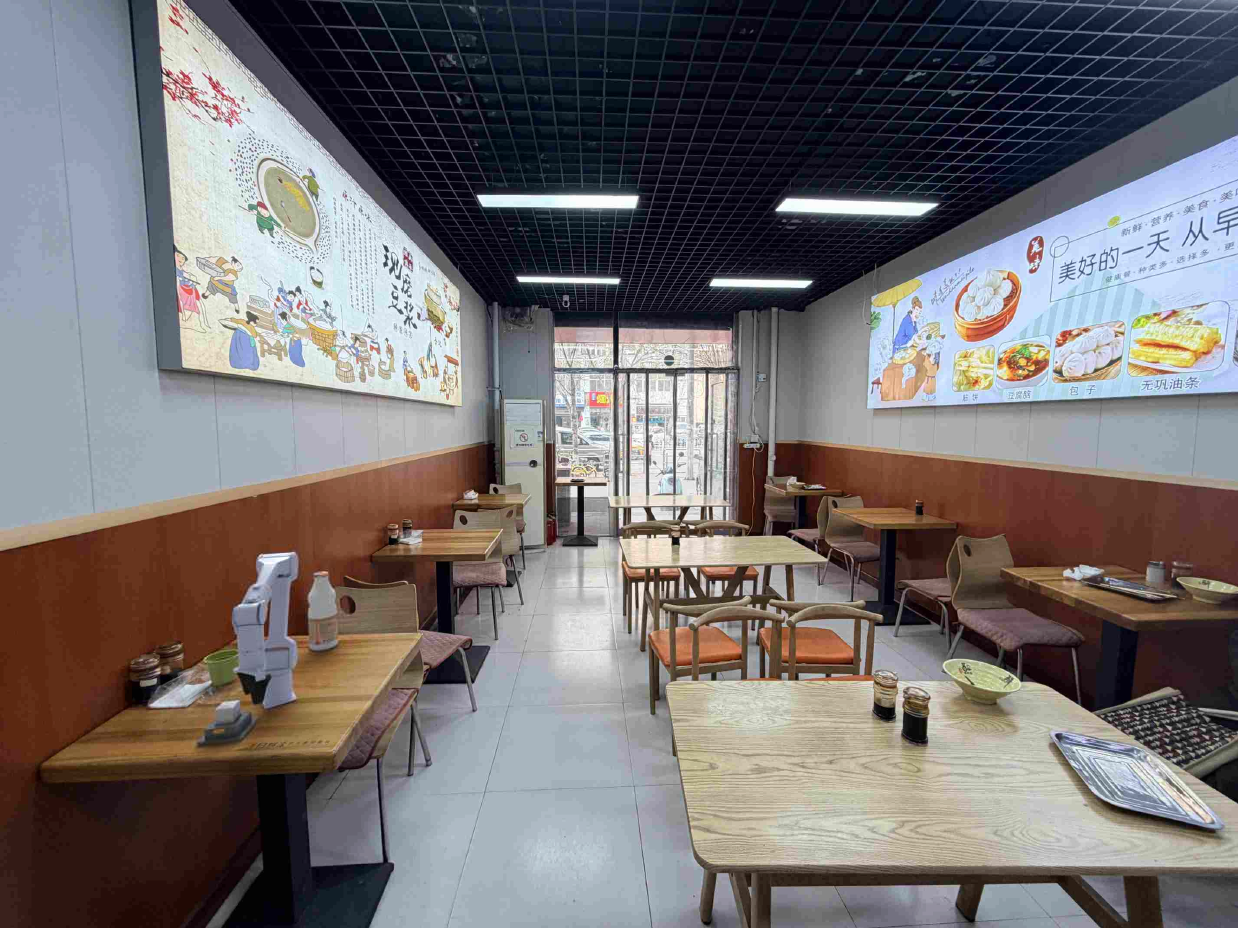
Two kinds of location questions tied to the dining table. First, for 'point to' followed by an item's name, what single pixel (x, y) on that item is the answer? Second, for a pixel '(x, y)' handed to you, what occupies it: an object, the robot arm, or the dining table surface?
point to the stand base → (228, 730)
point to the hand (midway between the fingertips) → (254, 698)
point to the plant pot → (222, 666)
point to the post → (228, 712)
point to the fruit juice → (322, 614)
